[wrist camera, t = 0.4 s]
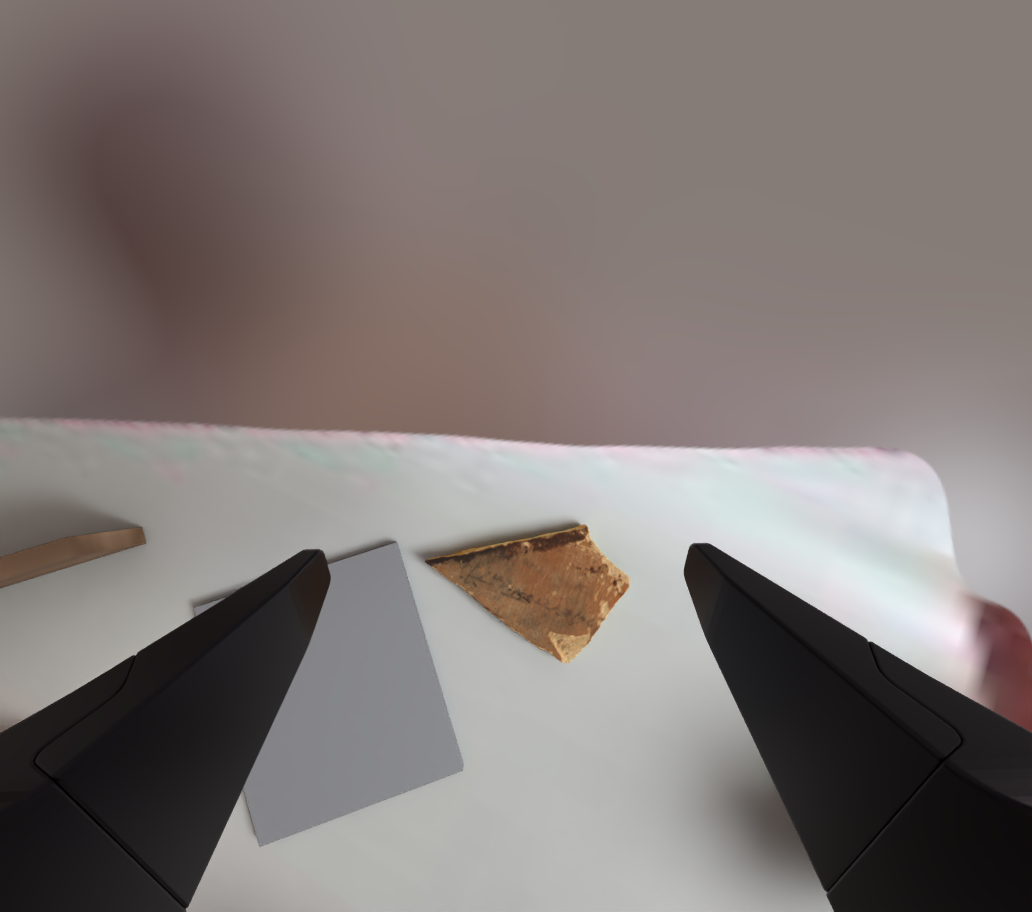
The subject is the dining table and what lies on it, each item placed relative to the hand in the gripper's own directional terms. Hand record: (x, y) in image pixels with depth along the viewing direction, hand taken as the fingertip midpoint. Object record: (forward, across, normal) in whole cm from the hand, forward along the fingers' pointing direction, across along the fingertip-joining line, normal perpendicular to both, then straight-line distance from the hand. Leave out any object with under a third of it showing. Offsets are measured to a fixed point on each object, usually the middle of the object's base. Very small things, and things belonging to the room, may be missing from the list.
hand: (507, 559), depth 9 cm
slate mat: (+7, +11, +16) cm, 21 cm away
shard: (+11, -1, +12) cm, 16 cm away
